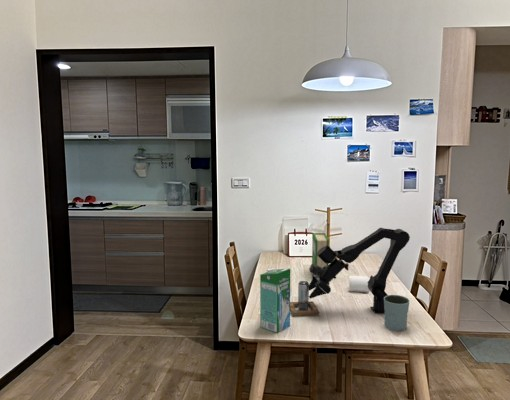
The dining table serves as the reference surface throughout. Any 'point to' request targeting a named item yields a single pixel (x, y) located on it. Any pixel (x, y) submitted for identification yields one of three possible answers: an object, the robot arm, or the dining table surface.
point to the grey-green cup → (396, 312)
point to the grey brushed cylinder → (303, 295)
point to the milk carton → (275, 299)
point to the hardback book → (318, 247)
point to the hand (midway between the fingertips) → (308, 294)
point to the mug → (358, 283)
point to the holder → (297, 313)
